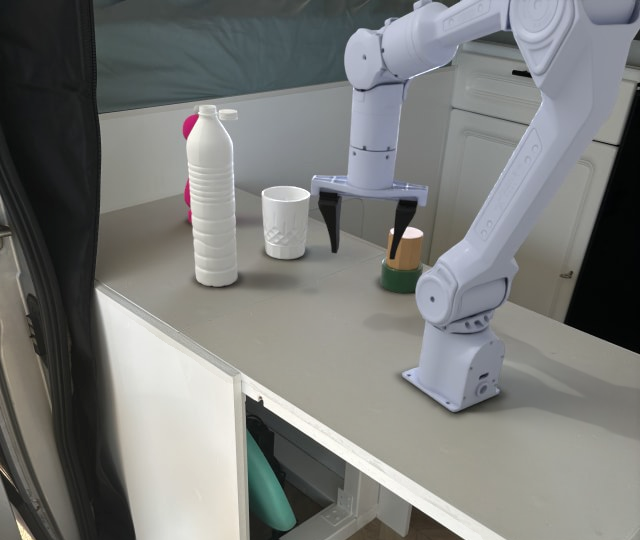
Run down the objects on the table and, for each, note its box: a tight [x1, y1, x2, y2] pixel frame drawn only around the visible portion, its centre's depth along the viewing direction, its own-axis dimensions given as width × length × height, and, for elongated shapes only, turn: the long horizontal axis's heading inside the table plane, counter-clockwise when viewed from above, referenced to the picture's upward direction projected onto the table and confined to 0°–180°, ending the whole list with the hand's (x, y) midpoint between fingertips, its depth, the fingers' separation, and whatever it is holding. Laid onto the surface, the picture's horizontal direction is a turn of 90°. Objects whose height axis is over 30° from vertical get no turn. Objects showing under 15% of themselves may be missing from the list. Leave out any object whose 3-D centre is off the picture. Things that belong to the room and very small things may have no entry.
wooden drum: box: [385, 226, 424, 270], centre depth 101 cm, size 5×5×5 cm
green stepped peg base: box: [379, 257, 424, 294], centre depth 102 cm, size 6×6×6 cm
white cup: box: [261, 185, 311, 260], centre depth 110 cm, size 8×8×10 cm
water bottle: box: [185, 104, 239, 288], centre depth 95 cm, size 9×6×25 cm
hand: (363, 253), depth 87 cm, fingers open, 7 cm apart
